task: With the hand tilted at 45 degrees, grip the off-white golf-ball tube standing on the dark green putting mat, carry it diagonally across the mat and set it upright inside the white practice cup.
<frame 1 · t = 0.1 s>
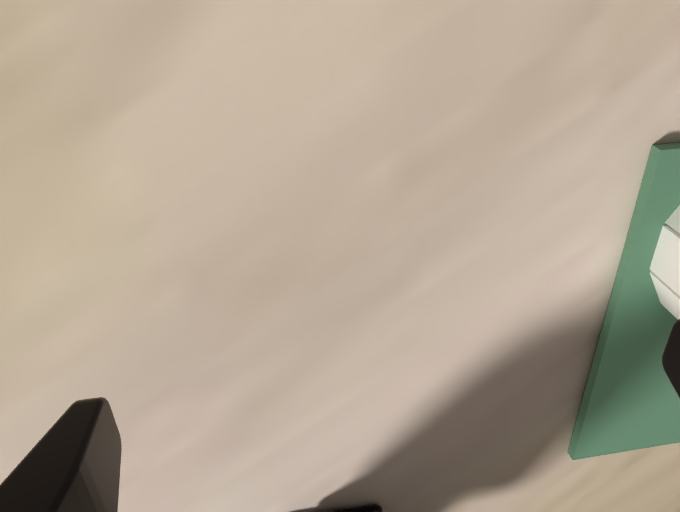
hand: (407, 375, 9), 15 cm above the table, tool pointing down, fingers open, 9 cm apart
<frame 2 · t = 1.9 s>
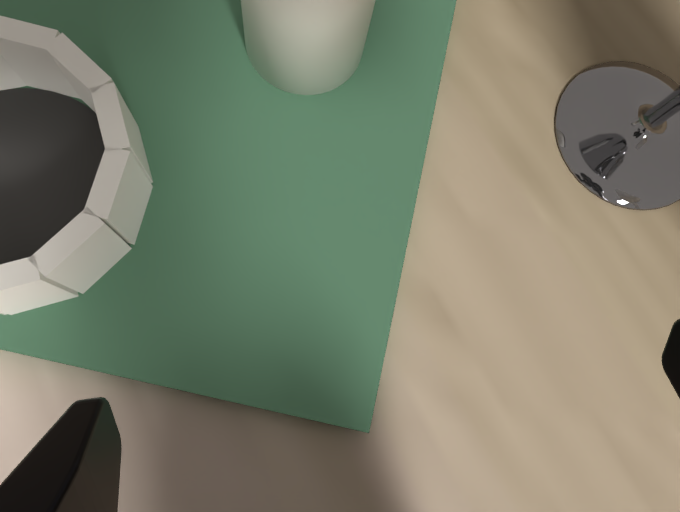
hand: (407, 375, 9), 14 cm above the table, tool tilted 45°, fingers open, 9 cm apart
golf ball tube: (304, 41, 24), point 1 cm above the table, touching putting green
wine glass: (628, 135, 26), on the table
putting green: (180, 129, 24), on the table
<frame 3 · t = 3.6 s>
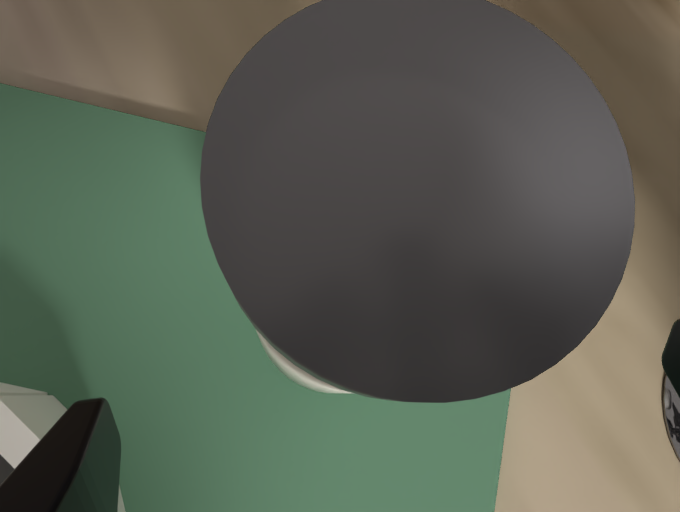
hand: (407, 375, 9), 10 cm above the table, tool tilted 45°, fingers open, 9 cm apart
golf ball tube: (334, 313, 18), point 1 cm above the table, touching putting green
putting green: (170, 445, 18), on the table
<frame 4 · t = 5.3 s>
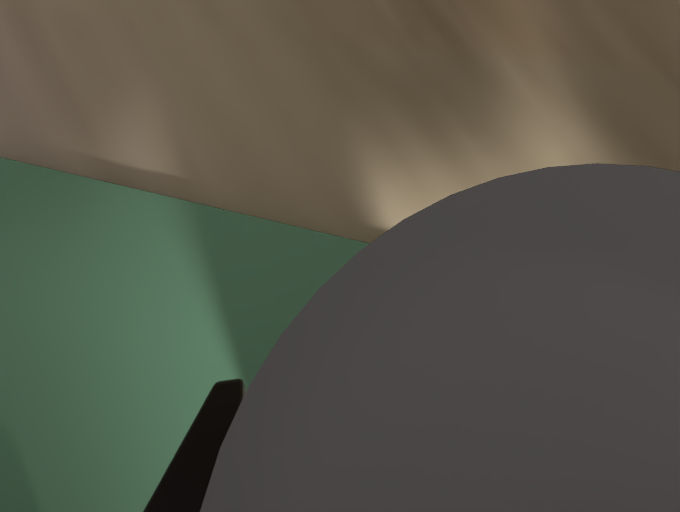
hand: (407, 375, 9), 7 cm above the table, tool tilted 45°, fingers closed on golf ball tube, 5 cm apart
golf ball tube: (364, 435, 15), point 1 cm above the table, touching gripper, putting green
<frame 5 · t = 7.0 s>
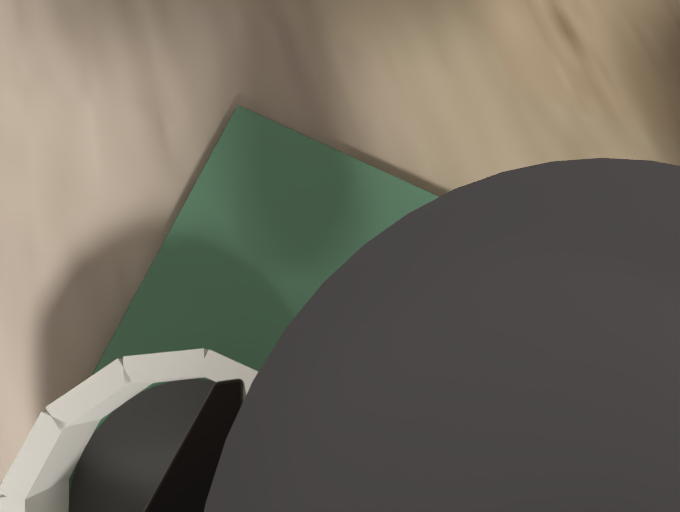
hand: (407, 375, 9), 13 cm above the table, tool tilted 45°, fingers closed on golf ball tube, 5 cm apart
golf ball tube: (365, 433, 15), point 7 cm above the table, touching gripper
putting green: (363, 443, 22), on the table
when the fingers open (8 cm above the table, at t = 9.1 s): golf ball tube drops 1 cm, resting on putting green.
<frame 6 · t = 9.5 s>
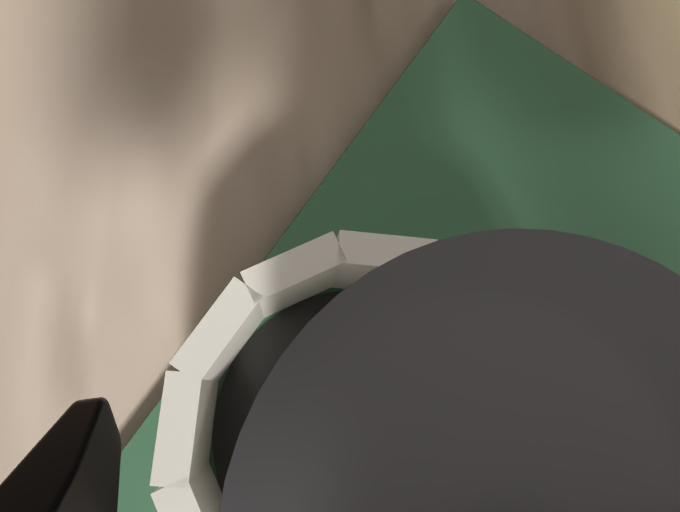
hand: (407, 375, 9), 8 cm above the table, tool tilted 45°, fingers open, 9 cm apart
golf ball tube: (358, 433, 16), point 1 cm above the table, touching putting green
putting green: (563, 411, 18), on the table
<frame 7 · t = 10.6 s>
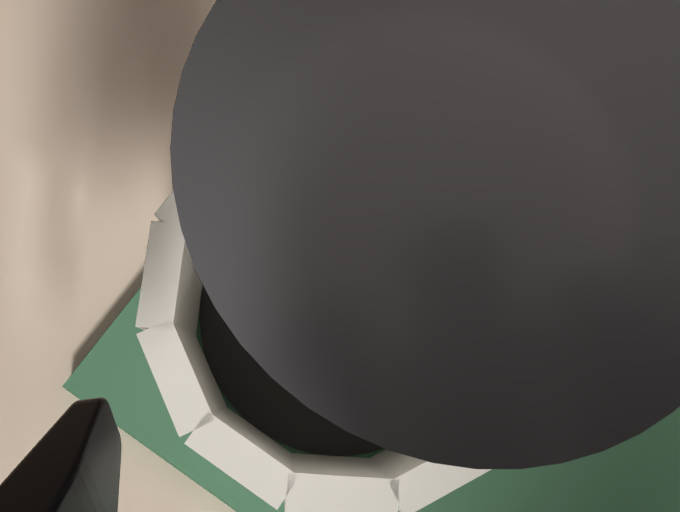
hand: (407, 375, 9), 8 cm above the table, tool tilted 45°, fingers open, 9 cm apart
golf ball tube: (342, 311, 17), point 1 cm above the table, touching putting green
putting green: (543, 299, 18), on the table
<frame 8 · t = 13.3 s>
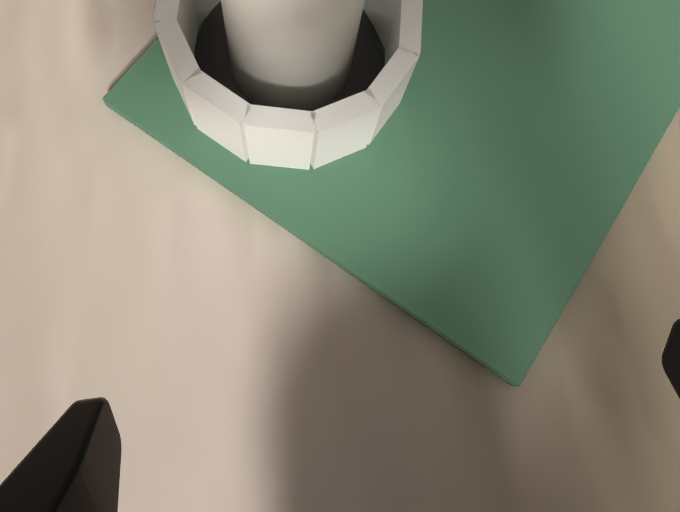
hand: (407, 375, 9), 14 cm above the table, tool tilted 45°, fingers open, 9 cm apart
golf ball tube: (291, 60, 24), point 1 cm above the table, touching putting green
putting green: (434, 65, 26), on the table
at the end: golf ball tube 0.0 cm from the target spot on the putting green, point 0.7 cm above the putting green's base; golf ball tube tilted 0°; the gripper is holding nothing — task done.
